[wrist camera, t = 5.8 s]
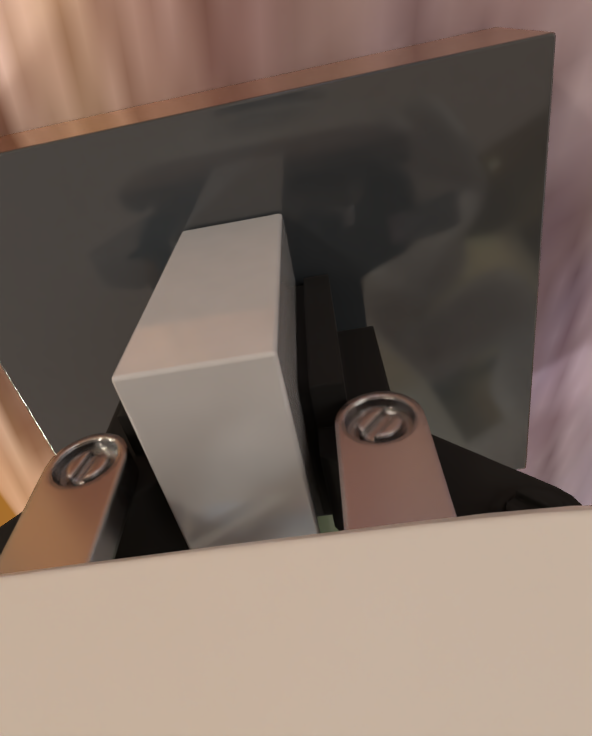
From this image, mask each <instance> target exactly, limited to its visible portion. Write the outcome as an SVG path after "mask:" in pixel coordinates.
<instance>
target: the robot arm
mask: <svg viewBox="0 0 592 736" xmlns="http://www.w3.org/2000/svg"><path fill="white" fill-rule="evenodd" d="M303 282H304V285H300V286H296V287H295V288H296V337H297V381H298V391H299V398H300V403H301V408H302V413H303V417H304V421H305V426H306V430H307V435H308V439H309V444H310V448H311V453H312V457H313V462H314V466H315V470H316V475H317V479H318V484H319V488H320V493H321V497H322V502H323V506H324V511H325V514H326V515H333V520H334V525H335V528H337V529H338V530H339V531H335V532H327V533H319V534H311V535H303V536H294V537H286V538H278V539H270V540H262V541H254V542H246V543H238V544H230V545H222V546H214V547H207V548H199V549H191V550H190V549H189V547H188V545H187V543H186V541H185V539H184V536H183V534H182V532H181V530H180V528H179V526H178V523H177V521H176V519H175V517H174V515H173V513H172V510H171V508H170V506H169V504H168V502H167V500H166V497H165V495H164V493H163V491H162V489H161V487H160V484H159V482H158V480H157V478H156V476H155V474H154V471H153V469H152V467H151V465H150V463H149V461H148V459H147V456H146V454H145V452H144V450H143V448H142V446H141V443H140V441H139V439H138V437H137V435H136V433H135V430H134V428H133V426H132V424H131V422H130V420H129V417H128V415H127V413H126V411H125V409H124V407H123V404H122V402H121V400H120V401H119V403H118V406H117V408H116V410H115V413H114V415H113V417H112V420H111V422H110V424H109V427H108V429H107V431H106V433H97V434H93V435H89V436H86V437H83V438H81V439H79V440H76V441H74V442H72V443H71V444H69V445H67V446H66V447H64V448H63V449H61V450H60V451H59V452H58V453H57V454H56V455H55V456H54V457H53V458H52V459H51V460H50V462H49V463H48V464H47V466H46V467H45V469H44V471H43V473H42V475H41V477H40V479H39V481H38V483H37V485H36V487H35V489H34V491H33V493H32V494H31V496H30V498H29V500H28V502H27V504H26V506H25V508H24V510H23V512H22V513H20V514H19V515H17V516H16V517H14V518H13V519H11V520H10V521H8V522H7V523H5V524H4V525H2V526H1V527H0V736H592V505H581V504H580V503H579V502H578V501H577V500H576V499H575V498H574V497H573V496H572V495H570V494H568V493H566V492H564V491H563V490H561V489H559V488H557V487H555V486H553V485H550V484H548V483H546V482H543V481H541V480H538V479H536V478H534V477H531V476H529V475H527V474H524V473H522V472H520V471H517V470H515V469H513V468H510V467H508V466H505V465H503V464H501V463H498V462H496V461H494V460H491V459H489V458H487V457H484V456H482V455H480V454H477V453H475V452H472V451H470V450H468V449H465V448H463V447H461V446H458V445H456V444H454V443H451V442H449V441H447V440H444V439H442V438H439V437H437V436H435V435H432V434H431V432H430V429H429V426H428V422H427V419H426V416H425V413H424V411H423V409H422V407H421V406H420V404H419V403H418V402H416V401H415V400H414V399H413V398H411V397H409V396H406V395H404V394H401V393H397V392H391V391H390V388H389V384H388V380H387V376H386V372H385V369H384V365H383V361H382V357H381V353H380V350H379V346H378V342H377V338H376V334H375V331H374V327H373V326H368V327H362V328H356V329H350V330H344V331H338V332H337V326H336V320H335V314H334V307H333V301H332V295H331V289H330V282H329V276H328V274H325V275H319V276H313V277H307V278H303Z"/></svg>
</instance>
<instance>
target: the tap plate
mask: <svg viewBox="0 0 592 736" xmlns="http://www.w3.org/2000/svg"><path fill="white" fill-rule="evenodd" d="M555 39H556V35H555V33H554V32H547V31H535V30H524V29H513V28H501V27H493V28H489V29H484V30H480V31H475V32H471V33H466V34H462V35H457V36H452V37H448V38H443V39H439V40H434V41H430V42H425V43H421V44H416V45H412V46H407V47H403V48H398V49H394V50H389V51H385V52H380V53H375V54H371V55H366V56H362V57H357V58H353V59H348V60H344V61H339V62H335V63H330V64H326V65H321V66H317V67H312V68H308V69H303V70H298V71H294V72H289V73H285V74H280V75H276V76H271V77H267V78H262V79H258V80H253V81H249V82H244V83H240V84H235V85H230V86H226V87H221V88H217V89H212V90H208V91H203V92H199V93H194V94H190V95H185V96H181V97H176V98H172V99H167V100H163V101H158V102H153V103H149V104H144V105H140V106H135V107H131V108H126V109H122V110H117V111H113V112H108V113H104V114H99V115H95V116H90V117H86V118H81V119H76V120H72V121H67V122H63V123H58V124H54V125H49V126H45V127H40V128H36V129H31V130H27V131H22V132H18V133H13V134H8V135H4V136H0V365H1V366H2V368H3V370H4V371H5V373H6V375H7V376H8V378H9V380H10V381H11V383H12V384H13V386H14V388H15V389H16V391H17V393H18V394H19V396H20V398H21V399H22V401H23V403H24V404H25V406H26V408H27V409H28V411H29V412H30V414H31V416H32V417H33V419H34V421H35V422H36V424H37V426H38V427H39V429H40V431H41V432H42V434H43V436H44V437H45V439H46V441H47V442H48V444H49V445H50V447H51V449H52V450H53V452H54V454H55V455H56V454H57V453H58V452H59V451H60V450H61V449H63V448H64V447H66V446H67V445H69V444H71V443H72V442H74V441H76V440H79V439H81V438H83V437H86V436H89V435H93V434H97V433H106V431H107V429H108V427H109V424H110V422H111V420H112V417H113V415H114V413H115V410H116V408H117V406H118V403H119V401H120V398H119V396H118V394H117V391H116V389H115V387H114V385H113V383H112V375H113V373H114V371H115V369H116V367H117V365H118V363H119V361H120V359H121V357H122V355H123V353H124V351H125V348H126V346H127V344H128V342H129V340H130V338H131V336H132V334H133V332H134V330H135V328H136V326H137V324H138V322H139V320H140V318H141V315H142V313H143V311H144V309H145V307H146V305H147V303H148V301H149V299H150V297H151V295H152V293H153V291H154V289H155V287H156V284H157V282H158V280H159V278H160V276H161V274H162V272H163V270H164V268H165V266H166V264H167V262H168V260H169V258H170V256H171V253H172V251H173V249H174V247H175V245H176V243H177V241H178V239H179V237H180V235H181V233H182V232H183V231H187V230H193V229H198V228H204V227H209V226H214V225H220V224H225V223H231V222H236V221H242V220H247V219H253V218H258V217H263V216H269V215H274V214H281V215H282V216H283V221H284V226H285V231H286V236H287V241H288V246H289V251H290V256H291V261H292V267H293V272H294V277H295V282H296V286H300V285H304V282H303V278H307V277H313V276H319V275H325V274H328V276H329V282H330V289H331V295H332V301H333V307H334V314H335V320H336V326H337V332H338V331H344V330H350V329H356V328H362V327H368V326H373V327H374V331H375V334H376V338H377V342H378V346H379V350H380V353H381V357H382V361H383V365H384V369H385V372H386V376H387V380H388V384H389V388H390V391H391V392H397V393H401V394H404V395H406V396H409V397H411V398H413V399H414V400H415V401H416V402H418V403H419V404H420V406H421V407H422V409H423V411H424V413H425V416H426V419H427V422H428V426H429V429H430V432H431V434H432V435H435V436H437V437H439V438H442V439H444V440H447V441H449V442H451V443H454V444H456V445H458V446H461V447H463V448H465V449H468V450H470V451H472V452H475V453H477V454H480V455H482V456H484V457H487V458H489V459H491V460H494V461H496V462H498V463H501V464H503V465H505V466H508V467H510V468H513V469H515V470H517V469H524V468H526V458H527V444H528V429H529V415H530V400H531V386H532V371H533V357H534V343H535V328H536V314H537V299H538V285H539V270H540V256H541V241H542V227H543V212H544V198H545V183H546V169H547V154H548V140H549V125H550V111H551V96H552V82H553V68H554V53H555Z"/></svg>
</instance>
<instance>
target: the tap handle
mask: <svg viewBox="0 0 592 736" xmlns="http://www.w3.org/2000/svg"><path fill="white" fill-rule="evenodd" d="M295 287H296V282H295V277H294V272H293V267H292V261H291V256H290V251H289V246H288V241H287V236H286V231H285V226H284V221H283V216H282V215H281V214H274V215H269V216H263V217H258V218H253V219H247V220H242V221H236V222H231V223H225V224H220V225H214V226H209V227H204V228H198V229H193V230H187V231H183V232H182V233H181V235H180V237H179V239H178V241H177V243H176V245H175V247H174V249H173V251H172V253H171V256H170V258H169V260H168V262H167V264H166V266H165V268H164V270H163V272H162V274H161V276H160V278H159V280H158V282H157V284H156V287H155V289H154V291H153V293H152V295H151V297H150V299H149V301H148V303H147V305H146V307H145V309H144V311H143V313H142V315H141V318H140V320H139V322H138V324H137V326H136V328H135V330H134V332H133V334H132V336H131V338H130V340H129V342H128V344H127V346H126V348H125V351H124V353H123V355H122V357H121V359H120V361H119V363H118V365H117V367H116V369H115V371H114V373H113V375H112V383H113V385H114V387H115V389H116V391H117V394H118V396H119V398H120V400H121V402H122V404H123V407H124V409H125V411H126V413H127V415H128V417H129V420H130V422H131V424H132V426H133V428H134V430H135V433H136V435H137V437H138V439H139V441H140V443H141V446H142V448H143V450H144V452H145V454H146V456H147V459H148V461H149V463H150V465H151V467H152V469H153V471H154V474H155V476H156V478H157V480H158V482H159V484H160V487H161V489H162V491H163V493H164V495H165V497H166V500H167V502H168V504H169V506H170V508H171V510H172V513H173V515H174V517H175V519H176V521H177V523H178V526H179V528H180V530H181V532H182V534H183V536H184V539H185V541H186V543H187V545H188V547H189V549H190V550H191V549H199V548H207V547H214V546H222V545H230V544H238V543H246V542H254V541H262V540H270V539H278V538H286V537H294V536H303V535H311V534H319V533H327V532H335V525H334V520H333V515H326V514H325V511H324V506H323V502H322V497H321V493H320V488H319V484H318V479H317V475H316V470H315V466H314V462H313V457H312V453H311V448H310V444H309V439H308V435H307V430H306V426H305V421H304V417H303V413H302V408H301V403H300V398H299V391H298V381H297V337H296V288H295Z"/></svg>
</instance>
